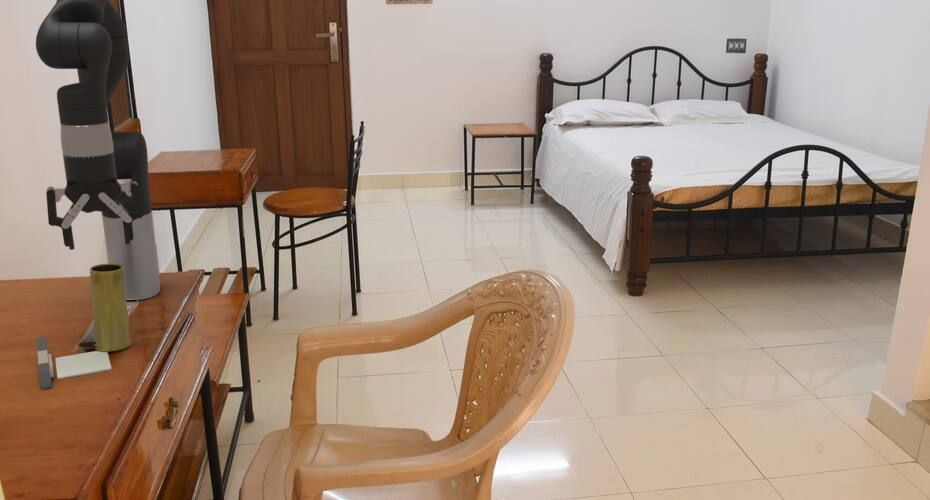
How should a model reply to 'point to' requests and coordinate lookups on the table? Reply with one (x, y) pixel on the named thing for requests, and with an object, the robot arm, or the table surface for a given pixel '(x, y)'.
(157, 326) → the table surface
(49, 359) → the price rail
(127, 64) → the robot arm
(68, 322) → the table surface
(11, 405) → the table surface
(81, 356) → the pad
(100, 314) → the vase
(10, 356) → the table surface
